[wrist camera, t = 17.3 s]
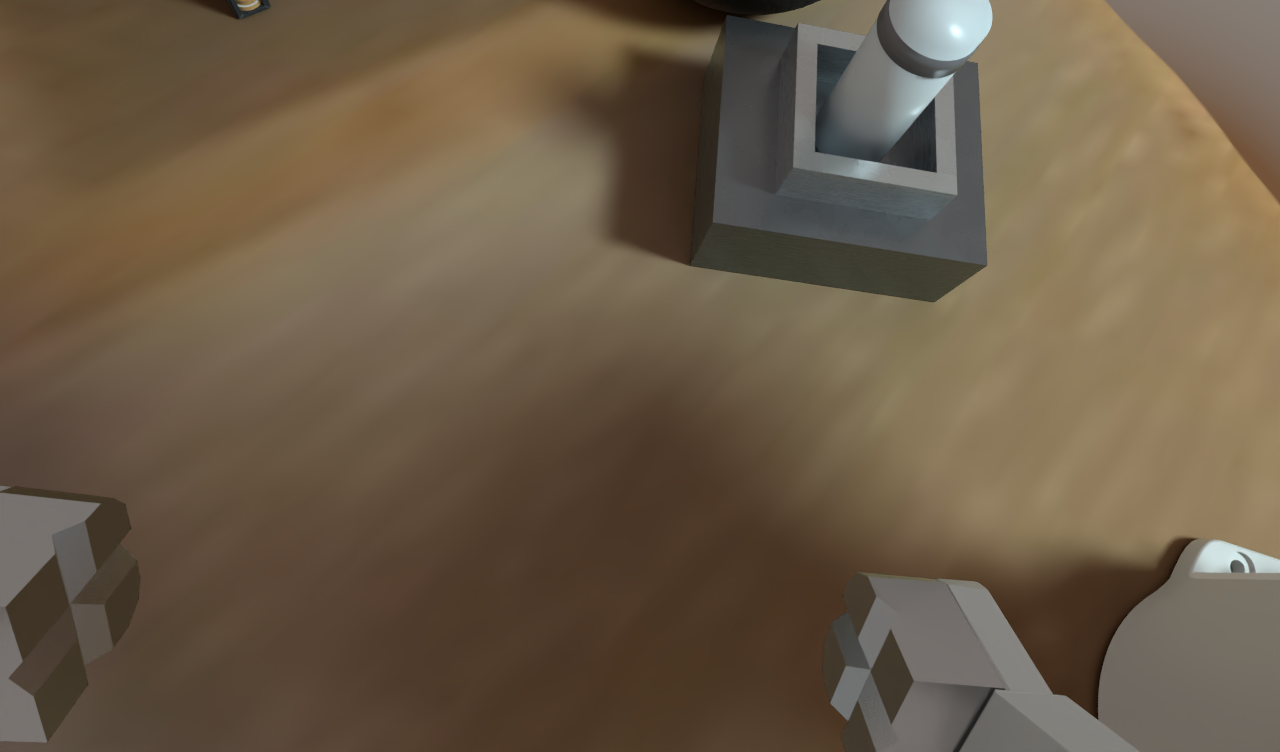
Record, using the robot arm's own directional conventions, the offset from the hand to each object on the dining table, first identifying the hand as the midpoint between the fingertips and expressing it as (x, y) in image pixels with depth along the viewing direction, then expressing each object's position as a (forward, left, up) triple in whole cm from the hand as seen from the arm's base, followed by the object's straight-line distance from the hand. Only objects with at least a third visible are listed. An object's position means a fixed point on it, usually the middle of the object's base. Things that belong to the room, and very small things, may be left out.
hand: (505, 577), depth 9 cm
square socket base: (-14, -23, -27) cm, 39 cm away
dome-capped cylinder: (-14, -23, -22) cm, 35 cm away
